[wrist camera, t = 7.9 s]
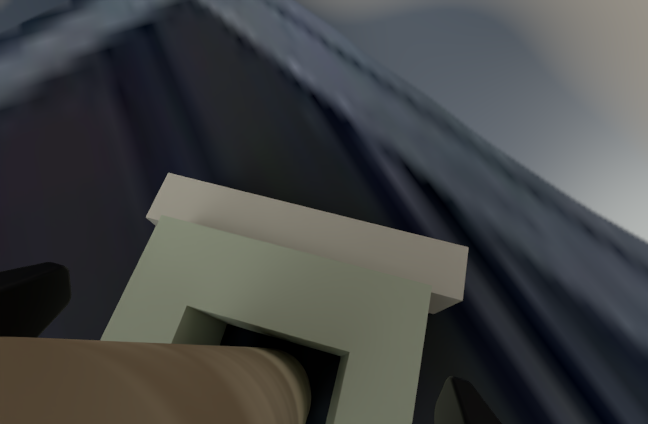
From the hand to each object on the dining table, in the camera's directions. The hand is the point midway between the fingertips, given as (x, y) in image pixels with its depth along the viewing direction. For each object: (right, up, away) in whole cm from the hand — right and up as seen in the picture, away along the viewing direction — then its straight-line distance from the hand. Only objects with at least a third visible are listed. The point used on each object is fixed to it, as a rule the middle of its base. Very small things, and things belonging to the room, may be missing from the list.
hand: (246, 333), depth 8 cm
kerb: (+1, +1, +8) cm, 9 cm away
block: (0, -3, +7) cm, 7 cm away
